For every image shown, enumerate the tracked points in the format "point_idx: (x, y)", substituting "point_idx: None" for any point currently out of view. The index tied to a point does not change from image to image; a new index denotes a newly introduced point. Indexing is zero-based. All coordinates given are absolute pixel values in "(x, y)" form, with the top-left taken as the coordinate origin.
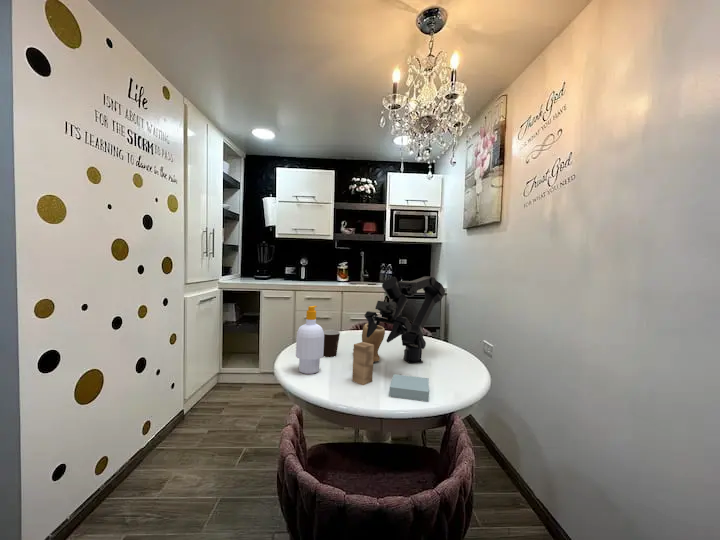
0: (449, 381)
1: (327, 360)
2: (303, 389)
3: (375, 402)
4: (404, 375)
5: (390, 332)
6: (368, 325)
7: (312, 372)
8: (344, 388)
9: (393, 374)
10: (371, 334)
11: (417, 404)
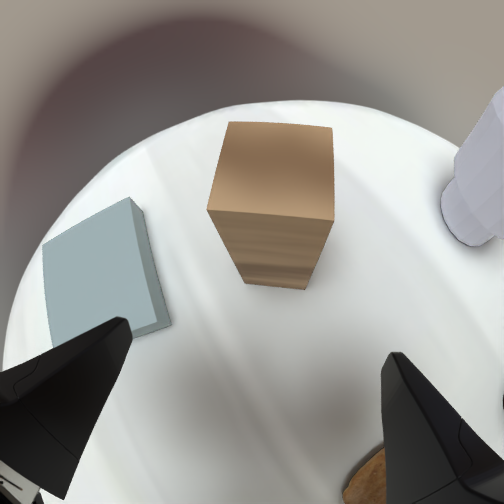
0: None
1: (499, 343)
2: (360, 114)
3: (163, 160)
4: None
5: (59, 366)
6: (478, 439)
7: (441, 196)
8: None
9: (155, 317)
10: (383, 430)
11: (76, 222)
